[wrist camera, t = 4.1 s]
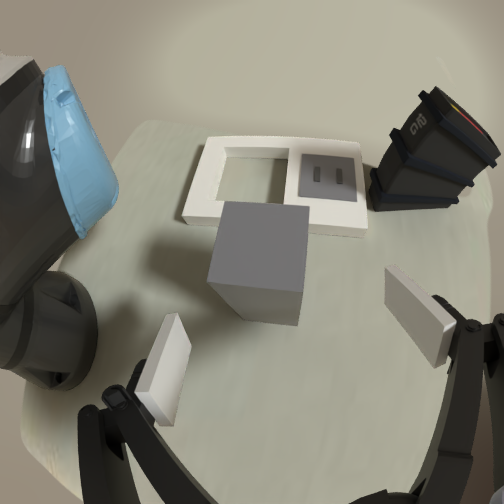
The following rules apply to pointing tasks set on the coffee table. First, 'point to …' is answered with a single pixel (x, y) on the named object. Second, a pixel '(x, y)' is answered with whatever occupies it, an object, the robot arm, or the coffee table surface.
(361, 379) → the coffee table surface
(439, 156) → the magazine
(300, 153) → the white flat rectangular frame
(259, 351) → the coffee table surface
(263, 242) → the grey tall block
